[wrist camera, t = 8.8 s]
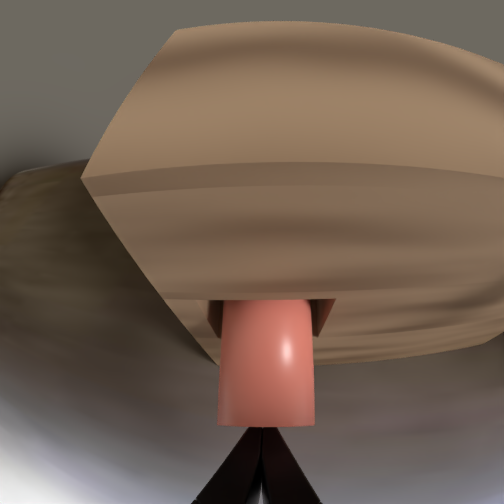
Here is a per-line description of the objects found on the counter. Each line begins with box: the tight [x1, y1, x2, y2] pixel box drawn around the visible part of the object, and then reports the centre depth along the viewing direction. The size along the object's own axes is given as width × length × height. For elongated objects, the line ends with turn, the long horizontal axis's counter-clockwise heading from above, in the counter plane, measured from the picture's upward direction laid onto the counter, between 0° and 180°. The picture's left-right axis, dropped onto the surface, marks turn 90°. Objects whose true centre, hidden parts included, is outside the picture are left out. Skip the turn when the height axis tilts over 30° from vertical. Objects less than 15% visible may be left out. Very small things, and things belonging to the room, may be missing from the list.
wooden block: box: [81, 21, 504, 366], centre depth 12 cm, size 8×18×15 cm, turn 89°
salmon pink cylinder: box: [217, 299, 315, 427], centre depth 10 cm, size 7×3×3 cm, turn 179°
